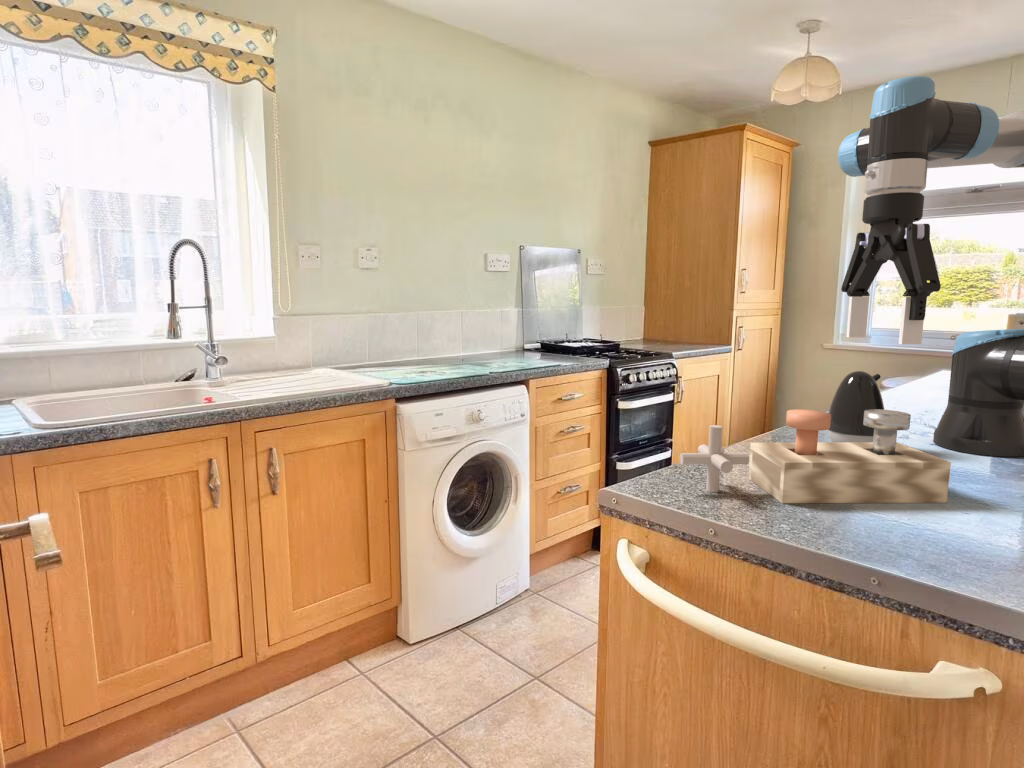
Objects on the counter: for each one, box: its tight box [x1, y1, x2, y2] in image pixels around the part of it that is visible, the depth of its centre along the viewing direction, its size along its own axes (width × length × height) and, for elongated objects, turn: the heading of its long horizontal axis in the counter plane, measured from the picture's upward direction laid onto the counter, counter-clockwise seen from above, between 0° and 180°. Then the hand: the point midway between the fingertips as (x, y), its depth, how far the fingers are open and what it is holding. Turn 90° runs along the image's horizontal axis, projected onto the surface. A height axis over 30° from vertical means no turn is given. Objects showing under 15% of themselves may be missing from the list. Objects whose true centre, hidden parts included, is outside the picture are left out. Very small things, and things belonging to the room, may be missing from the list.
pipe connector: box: [679, 424, 750, 493], centre depth 93 cm, size 10×10×10 cm
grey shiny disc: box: [863, 409, 912, 455], centre depth 93 cm, size 6×6×8 cm
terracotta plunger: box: [785, 408, 831, 455], centre depth 93 cm, size 6×6×8 cm
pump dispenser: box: [827, 370, 885, 442], centre depth 119 cm, size 10×10×15 cm
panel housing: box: [748, 441, 952, 504], centre depth 94 cm, size 24×12×6 cm, turn 91°
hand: (880, 340), depth 92 cm, fingers open, 13 cm apart
